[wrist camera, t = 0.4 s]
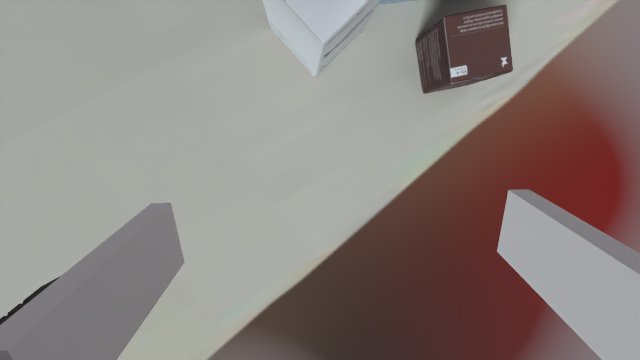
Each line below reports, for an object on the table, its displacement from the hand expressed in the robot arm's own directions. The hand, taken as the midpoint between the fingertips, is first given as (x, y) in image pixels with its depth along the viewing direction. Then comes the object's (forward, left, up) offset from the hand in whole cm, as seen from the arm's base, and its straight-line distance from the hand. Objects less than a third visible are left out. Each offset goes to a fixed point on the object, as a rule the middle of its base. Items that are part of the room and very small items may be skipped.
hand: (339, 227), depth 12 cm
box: (-10, +16, -24) cm, 31 cm away
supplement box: (-15, +2, -24) cm, 28 cm away
